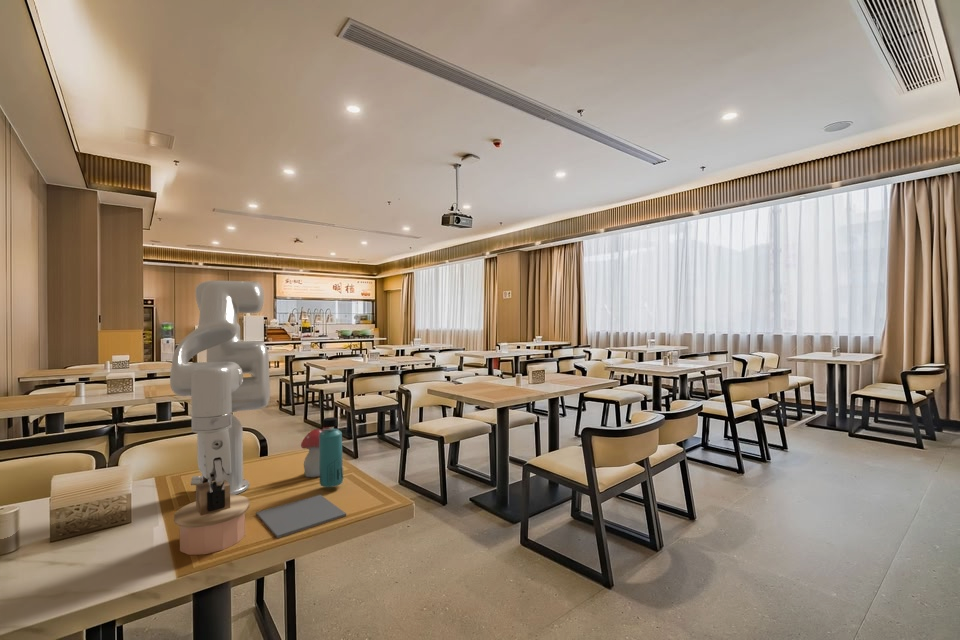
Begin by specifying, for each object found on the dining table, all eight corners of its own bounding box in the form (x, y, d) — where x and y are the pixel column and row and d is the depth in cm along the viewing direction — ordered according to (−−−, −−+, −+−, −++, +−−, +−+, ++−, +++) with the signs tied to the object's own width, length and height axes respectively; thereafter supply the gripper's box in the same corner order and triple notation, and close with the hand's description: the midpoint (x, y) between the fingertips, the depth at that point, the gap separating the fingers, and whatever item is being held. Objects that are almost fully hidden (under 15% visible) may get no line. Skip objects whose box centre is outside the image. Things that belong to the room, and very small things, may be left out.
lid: (257, 512, 96) (256, 485, 96) (179, 534, 86) (179, 504, 86) (240, 494, 106) (239, 469, 106) (169, 511, 97) (169, 484, 97)
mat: (277, 538, 96) (277, 535, 96) (256, 514, 108) (256, 512, 108) (346, 515, 107) (346, 513, 107) (320, 496, 119) (320, 494, 119)
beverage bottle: (338, 492, 122) (338, 420, 122) (315, 492, 122) (314, 420, 122) (346, 483, 128) (345, 415, 128) (324, 484, 128) (323, 415, 128)
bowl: (166, 555, 90) (166, 526, 90) (201, 527, 102) (201, 501, 102) (226, 553, 90) (226, 524, 90) (254, 526, 102) (254, 500, 102)
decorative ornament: (332, 468, 141) (331, 422, 141) (334, 475, 135) (333, 426, 135) (300, 473, 138) (300, 425, 138) (301, 480, 132) (301, 430, 132)
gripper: (241, 426, 92) (242, 512, 92) (222, 413, 105) (223, 489, 105) (199, 432, 87) (200, 523, 87) (185, 418, 100) (186, 497, 100)
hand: (213, 503), depth 96 cm, fingers closed on lid, 5 cm apart
